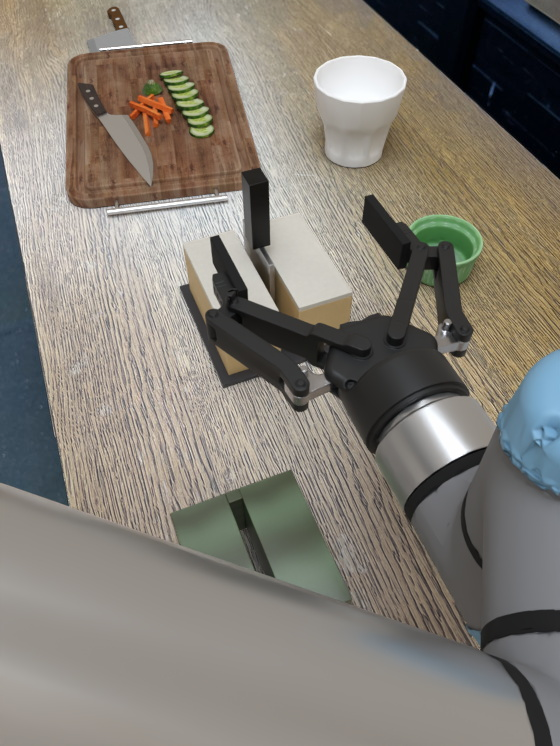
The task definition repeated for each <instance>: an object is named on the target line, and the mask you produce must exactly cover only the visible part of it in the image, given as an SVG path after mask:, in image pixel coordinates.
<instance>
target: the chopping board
mask: <svg viewBox="0 0 560 746" xmlns="http://www.w3.org/2000/svg"><path fill="white" fill-rule="evenodd" d="M99 50H100V52H93V53H90V52H86V53H81V54H78V55H75V56H73V57H71V58H70V59H69V60H68V61H67V67H66V68H67V69H66V71H67V72H66V122H65V124H66V125H65V131H66V132H65V134H66V135H65V136H66V137H65V179H64V181H65V183H64V184H65V185H64V188H65V191H66V194H67V198H68V200H69V202H70V203H71V204H72V205H74V206H75V207H78V208H83V209H96V208H103V207H104V208H105V207H112V206H113V207H114V208H113V207H112V208H106V209H105V212H106V215H107V216H112V215H113V216H114V215H122V214H129V213H130V214H131V213H137V212H147V211H154V210H163V209H170V208H179V207H187V206H194V205H195V206H196V205H202V204H204V205H205V204H210V203H219V202H225V201H227V202H228V201H229V197H228V194H220V193H227V192H237V191H242V178H241V172H243V171H247V170H251V169H255V168H259V167H260V168H261V169H262V165H261V162H260V157H259V155H258V152H257V149H256V144H255V141H254V137H253V134H252V130H251V127H250V123H249V121H248V116H247V113H246V110H245V106H244V102H243V99H242V96H241V93H240V89H239V85H238V81H237V78H236V75H235V72H234V69H233V65H232V61H231V58H230V54H229V51H228V48H227V47H226V46H225V45H224V44H222V43H220V42H216V41H199V42H194V41H193V38H191V39H190V38H189V39H178V40H168V41H167V40H166V41H157V42H146V43H145V42H144V43H137V44H134V45H123V46H113V47H102V48H99ZM212 194H214V195H212ZM203 195H204V196H203ZM205 195H211V196H205ZM195 196H203V197H195ZM186 197H187V198H186ZM188 197H195V198H188ZM178 198H186V199H178ZM170 199H171V201H162V202H154V203H145V202H153V201H161V200H170ZM172 199H177V200H172ZM136 203H145V204H138V205H137V204H136ZM129 204H136V205H129ZM121 205H129V206H121ZM120 206H121V207H120Z"/></svg>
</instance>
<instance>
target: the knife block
mask: <svg viewBox="0 0 560 746" xmlns="http://www.w3.org/2000/svg"><path fill="white" fill-rule="evenodd" d="M169 515H170V519H171V522H172V525H173V528H174V531H175V533H176V534H175V536H176V539H177V540H178V545H181V546H184V547H187V548H190V549H193V550H196V551H199V552H201V553H204V554H207V555H210V556H213V557H216V558H219V559H222V560H224V561H227V562H230V563H233V564H236V565H239V566H242V567H245V568H247V569H250V570H253V571H256V569H255V566H254V564H253V561H252V558H251V556H250V554H249V551H248V548H247V546H246V543H245V541H244V539H243V536H242V533H241V531H243V530H246V533H247V534H248V538H249V540H250V543H251V545H252V547H253V550H254V552H255V555H256V558H257V560H258V562H259V564H260V568H261V570H262V572H263V574H265V575H268V576H270V577H273V578H276V579H279V580H282V581H285V582H288V583H290V584H293V585H296V586H299V587H302V588H305V589H308V590H311V591H313V592H316V593H319V594H322V595H325V596H328V597H331V598H334V599H336V600H339V601H342V602H345V603H348V604H351V605H352V604H353V603H352V602H353V597H352V595H351V593H350V591H349V589H348V586H347V584H346V582H345V580H344V577H343V576H342V574H341V572H340V570H339V568H338V567H339V566H338V565H337V563H336V561H335V559H334V557H333V555H332V553H331V551H330V548H329V546H328V544H327V542H326V540H325V537H324V535H323V534H322V531H321V529H320V527H319V525H318V522H317V521H316V519H315V516H314V514H313V512H312V510H311V509H310V506H309V504H308V502H307V500H306V497H305V495H304V494H303V491H302V489H301V487H300V484H299V483H298V481H297V479H296V477H295V475H294V472H293V470H292V469H288V470H286V471H283V472H280V473H277V474H274V475H272V476H269V477H266V478H263V479H260V480H258V481H255V482H253V483H252V482H251V483H250V484H247V485H243V486H242V487H239V488H235V489H233V490H231V491H227V492H225V493H223V494H219V495H216V496H214V497H212V498H209V499H206V500H203V501H200V502H197V503H195V504H192V505H188V506H186V507H183V508H181V509H179V510H175V511H173V512H170V513H169Z"/></svg>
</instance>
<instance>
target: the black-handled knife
mask: <svg viewBox="0 0 560 746" xmlns="http://www.w3.org/2000/svg"><path fill="white" fill-rule="evenodd" d="M241 178H242V190H241V191H242V192H241V193H242V206H243V209H242V210H243V219H242V233H243V235H242V236H243V247H244V249H245V251H246V253H247V254H248V256H249V258H250V260H251V262H252V263H253V265H254V267H255V269H256V271H257V272H258V274H259V276H260V278H261V280H262V281H263V283H264V285H265V287H266V289H267V290H268V292H269V294H270V296H271V298H272V299H273V301H274V303H275V277H274V263H273V261H272V260H271V258H270V256H269V254H268V253H267V251H266V249H265V248H264V247H266V246H269V245H270V220H271V212H270V210H271V209H270V207H271V206H270V180H269V179H268V177H267V176H266V174H265V172H264V171H263V170H262V167H261V168H260V167H259V168H255V169H251V170H247V171H243V172H241Z"/></svg>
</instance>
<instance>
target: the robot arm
mask: <svg viewBox="0 0 560 746" xmlns="http://www.w3.org/2000/svg"><path fill="white" fill-rule="evenodd" d="M361 223H362V224H363V226H364V227H365V229H366V230H367V231H368V233H369V234H370V235H371V237H372V238H373V240H375V242H376V243H377V244H378V246H379V247H380V248H381V250H382V251H383V253H384V254H385V255H386V256H387V258H388V259H389V260H390V262H391V263H392V265H393V266H394V267H395V268H396V270H397V271H399V270H403V269H405V273H404V277H403V280H402V284H401V287H400V291H399V294H398V296H397V298H396V299H397V300H396V302H395V306H394V309H393V312H392V316H390V315H388V314H387V315H385V314H381V313H380V312H376V313H372V314H369V315H368V316H366V317H364V318H362V319H360V320H350V322H346V323H343V324H340V327H339V329H336V328H334V327H331V326H328V325H326V324H323V323H317V324H315V325H313V324H310V323H307V322H305V321H302V320H300V319H297V318H294V317H292V316H289V315H286V314H284V313H281V312H278V311H276V310H273V309H271V308H268V307H265V306H263V305H260V304H257V303H255V302H252V301H249V300H248V289H247V287H246V285H245V283H244V281H243V279H242V277H241V276H240V274H239V272H238V270H237V268H236V266H235V264H234V262H233V261H232V259H231V257H230V255H229V253H228V251H227V249H226V247H225V245H224V244H223V242H222V240H221V238H220V236H219V235H216V236H212V237H210V244H211V253H212V262H213V265H214V267H215V269H216V271H217V273H216V274H213V276H212V282H213V291H214V294H215V296H216V298H217V300H218V302H219V304H220V306H221V307H220V308H219V309H209V310H208V311H207V312H206V313H205V319H206V327H207V334H208V339H209V341H210V342H212V343H213V344H215V345H216V346H217V347H219V348H220V349H222V350H223V351H224V352H226V353H227V354H229V355H230V356H232V357H233V358H234V359H236V360H237V361H239V362H240V363H241V364H243V365H244V366H246V367H247V368H249V369H250V370H251V371H253V372H254V373H256V374H257V375H258V376H259V377H260V378H261V379H263V380H264V381H265V382H267V383H268V384H269V385H271V386H272V387H274V388H275V389H277V390H278V391H280V393H281V394H282V396H283V397H284V399H285V400H286V402H287V403H288V404H289V406H290V407H291V409H292V410H293V411H294V412H297V413H303V412H306V411H307V410H308V409H309V405H310V401H312V400H314V399H316V398H318V397H321V396H323V395H325V394H327V393H330V394H332V395H333V396H334V397H336V398H337V399H338V400H339V401H340V402H341V404H342V406H343V407H344V411H345V412H346V414H347V416H348V419H350V421H351V423H352V425H353V426H354V428H355V430H356V432H357V434H358V435H359V437H360V439H361V441H362V442H363V444H364V446H365V448H366V450H368V452H369V453H370V454H372V455H374V461H375V463H376V466H377V468H378V469H379V471H380V473H381V474H382V476H383V478H384V480H385V482H386V484H387V485H388V487H389V489H390V490H391V491H390V492H392V494H393V497H395V499H396V502H397V503H398V504H399V506H400V509H401V511H402V512H403V513H404V514H405V517H406V518H407V521H408V522H409V524H410V525H411V527H412V529H413V530H414V532H415V534H416V535H417V537H418V539H419V541H420V543H421V544H422V546H423V549H424V550H425V552H426V554H427V556H428V557H429V559H430V560H431V562H432V564H433V566H434V568H435V570H436V572H437V574H438V575H439V577H440V578H441V581H442V583H443V584H444V586H445V587H446V590H447V591H448V593H449V595H450V598H451V599H452V601H453V602H454V604H455V606H456V608H457V610H458V611H459V613H460V614H461V616H462V619H463V620H464V622H465V625H464V626H465V628H466V630H467V632H468V634H469V635H470V636H471V637H473V639H474V640H475V642H476V643H477V645H478V646H479V648H477V647H474V646H471V645H469V644H466V643H463V642H459V641H457V640H454V639H452V638H448V637H445V636H444V635H443V636H442V635H440V634H437V633H434V632H431V631H429V630H426V629H422V628H420V627H416V626H414V625H411V624H409V623H405V622H403V621H400V620H397V619H394V618H391V617H388V616H385V615H382V614H380V613H376V612H373V611H370V610H369V609H365V608H362V607H359V606H357V605H353V604H352V603H351V604H348V603H345V602H342V601H339V600H336V599H334V598H331V597H328V596H325V595H322V594H319V593H316V592H313V591H311V590H308V589H305V588H302V587H299V586H296V585H293V584H290V583H288V582H285V581H282V580H279V579H276V578H273V577H270V576H268V575H265V574H264V573H261V572H260V571H259V572H258V571H256V570H255V571H253V570H250V569H247V568H245V567H242V566H239V565H236V564H233V563H230V562H227V561H224V560H222V559H219V558H216V557H213V556H210V555H207V554H204V553H201V552H199V551H196V550H193V549H190V548H187V547H184V546H181V545H180V544H179V543H175V542H173V541H170V540H167V539H164V538H161V537H158V536H156V535H153V534H150V533H146V532H143V531H142V530H139V529H135V528H132V527H130V526H127V525H124V524H120V523H118V522H115V521H113V520H110V519H106V518H103V517H101V516H97V515H95V514H92V513H89V512H86V511H84V510H80V509H78V508H74V507H72V506H69V505H67V504H63V503H61V502H58V501H55V500H52V499H49V498H46V497H43V496H40V495H39V494H38V495H37V494H34V493H33V492H32V493H31V492H30V491H26V490H24V489H20V488H17V487H14V486H12V485H9V484H6V483H3V482H0V746H560V348H558V349H556V350H553V351H552V352H549V353H548V354H546V355H544V356H543V357H542V358H540V359H539V360H537V362H535V364H533V365H532V366H531V367H530V368H529V369H528V371H527V372H526V374H525V375H524V377H523V379H522V381H521V382H520V384H519V385H518V387H517V388H516V390H515V392H514V393H513V395H512V396H511V398H509V399H508V402H507V403H506V404H505V403H504V404H503V406H502V409H501V410H502V411H500V412H499V413H498V415H497V417H496V420H495V423H494V421H493V420H492V418H491V417H490V416H489V414H488V413H487V412H486V410H485V409H484V408H483V406H482V405H481V403H480V402H479V400H478V399H477V398H475V397H473V396H471V394H470V392H471V391H470V389H469V387H468V386H467V385H466V384H465V382H464V381H463V379H462V378H461V376H460V375H459V373H458V372H457V371H456V369H455V368H454V367H453V365H452V364H451V363H450V361H449V360H448V359H447V357H446V356H445V355H444V354H448V353H449V354H450V355H451V356H452V357H454V358H460V359H461V358H464V357H465V356H466V355H467V351H468V348H469V346H470V343H471V340H472V337H473V335H474V332H475V331H474V327H473V326H472V323H471V322H470V320H469V319H468V317H467V315H466V314H465V312H464V311H463V306H462V305H463V304H462V297H461V291H460V283H459V282H458V274H457V267H456V259H455V252H454V246H453V244H452V243H451V242H448V241H442V242H440V243H439V244H438V246H429V245H428V244H427V243H424V242H421V241H420V240H419V239H418V238H417V237H416V235H415V234H414V233H413V232H412V230H411V229H410V228H409V227H410V226H409V225H408V224H406V223H405V222H403V221H401V220H400V221H398V222H396V221H395V220H394V219H393V217H392V216H391V214H390V213H389V212H388V210H386V208H385V207H384V206H383V205H382V203H381V202H380V201H379V200H378V199H377V197H376V195H374V194H373V193H372V194H368V195H365V196H364V199H363V209H362V217H361ZM407 262H408V267H406V265H407ZM424 270H433V278H434V286H433V287H434V297H435V307H436V308H435V309H436V317H437V327H436V330H435V334H434V335H433V334H432V333H430V332H429V331H426V330H424V329H422V328H419V327H417V326H414V325H412V324H411V320H412V315H413V313H414V309H415V306H416V302H417V298H418V294H419V290H420V287H421V284H422V282H421V280H422V277H423V273H424ZM324 343H325V344H327V345H330V347H329V351H328V353H327V352H325V350H324ZM272 345H273V346H272ZM274 346H275V347H278V348H280V349H283V350H285V351H288V352H290V353H293V354H295V355H298V356H301V357H303V358H305V359H306V360H307V361H306V362H307V363H308V364H309V365H311V366H312V367H314V368H317V369H320V370H323V372H322V373H314V372H312V371H311V370H310V369H309V367H308V365H301V366H299V364H296V363H295V362H294V361H293V360H292V359H291V358H290V357H288V356H287V355H285V354H284V353H282V352H281V351H279V350H278V349H277V348H275V347H274Z"/></svg>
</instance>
